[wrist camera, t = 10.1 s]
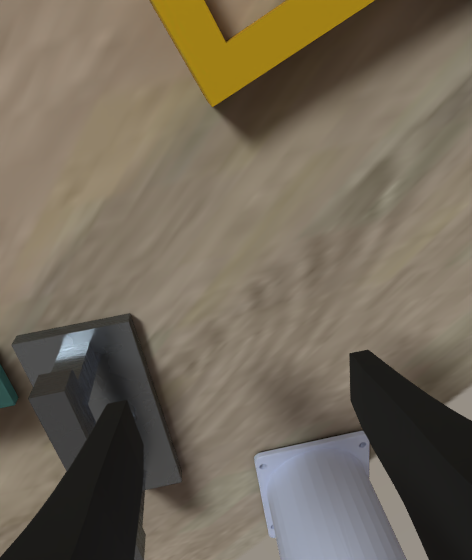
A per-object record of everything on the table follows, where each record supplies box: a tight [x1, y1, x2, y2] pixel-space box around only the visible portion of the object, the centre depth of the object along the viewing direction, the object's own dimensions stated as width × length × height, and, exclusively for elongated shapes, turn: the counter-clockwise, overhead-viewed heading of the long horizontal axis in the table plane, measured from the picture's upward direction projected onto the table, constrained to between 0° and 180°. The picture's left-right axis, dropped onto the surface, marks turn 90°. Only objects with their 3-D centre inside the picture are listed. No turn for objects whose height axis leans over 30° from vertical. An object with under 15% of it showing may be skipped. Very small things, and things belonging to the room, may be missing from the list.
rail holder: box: [12, 314, 182, 560], centre depth 23 cm, size 13×6×5 cm, turn 9°
